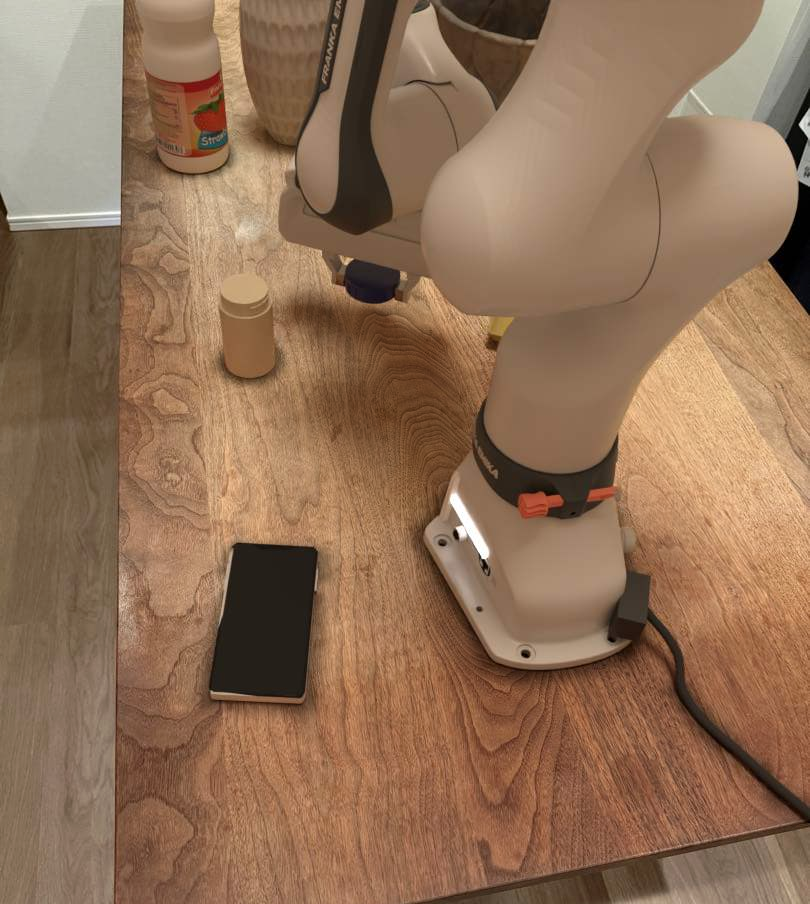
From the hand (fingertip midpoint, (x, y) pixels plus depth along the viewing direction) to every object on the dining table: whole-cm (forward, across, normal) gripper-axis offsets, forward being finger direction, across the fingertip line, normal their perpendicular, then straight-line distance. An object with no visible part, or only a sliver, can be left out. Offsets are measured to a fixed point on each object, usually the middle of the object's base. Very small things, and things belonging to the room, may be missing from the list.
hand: (370, 290), depth 97 cm
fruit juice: (+5, +32, -23) cm, 40 cm away
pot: (+5, -6, -39) cm, 40 cm away
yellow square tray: (+5, -18, -5) cm, 19 cm away
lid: (-2, 0, 0) cm, 2 cm away
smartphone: (+4, -4, +41) cm, 41 cm away
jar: (+4, +10, +11) cm, 15 cm away
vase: (+5, +22, -34) cm, 41 cm away
